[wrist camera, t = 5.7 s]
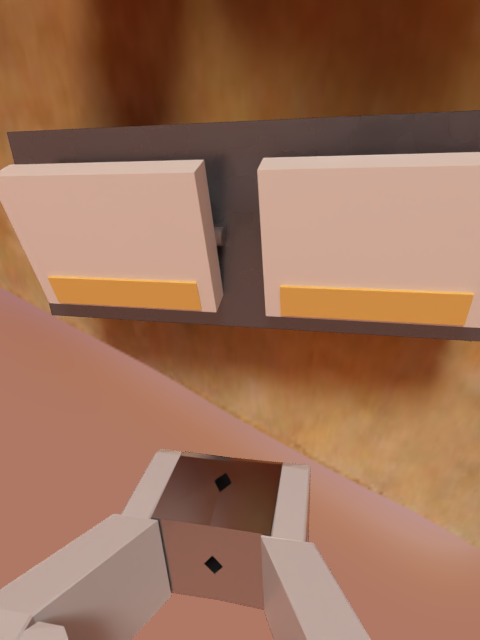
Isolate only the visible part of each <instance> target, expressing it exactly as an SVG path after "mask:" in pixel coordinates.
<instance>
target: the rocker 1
mask: <svg viewBox="0 0 480 640" xmlns="http://www.w3.org/2000/svg"><path fill="white" fill-rule="evenodd" d="M0 201H1V203H2V205H3V207H4V209H5V211H6V213H7V215H8V218H9V220H10V222H11V224H12V226H13V228H14V230H15V232H16V234H17V236H18V238H19V240H20V243H21V245H22V247H23V249H24V251H25V253H26V255H27V257H28V259H29V261H30V263H31V266H32V268H33V270H34V272H35V274H36V276H37V278H38V280H39V282H40V284H41V286H42V288H43V291H44V293H45V295H46V297H47V299H48V301H49V303H54V304H73V305H91V306H109V307H127V308H145V309H164V310H182V311H200V312H217V310H218V308H219V305H220V302H221V300H222V297H223V288H222V281H221V274H220V267H219V260H218V253H217V246H216V239H215V232H214V225H213V218H212V211H211V204H210V197H209V190H208V183H207V176H206V169H205V162H204V160H169V161H132V162H94V163H56V164H18V165H9V166H7V167H5V168H3V169H1V170H0Z"/></svg>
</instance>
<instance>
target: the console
mask: <svg viewBox="0 0 480 640" xmlns="http://www.w3.org/2000/svg"><path fill="white" fill-rule="evenodd" d="M7 135H8V139H9V143H10V147H11V151H12V155H13V159H14V163H15V165H18V164H56V163H94V162H132V161H169V160H204V162H205V169H206V176H207V183H208V190H209V197H210V204H211V211H212V218H213V225H214V232H215V239H216V246H217V253H218V260H219V267H220V274H221V281H222V288H223V297H222V300H221V302H220V305H219V308H218V310H217V312H200V311H182V310H164V309H145V308H127V307H109V306H91V305H73V304H54V303H49V305H50V309H51V313H52V315H59V316H76V317H92V318H108V319H124V320H141V321H157V322H173V323H189V324H205V325H222V326H238V327H254V328H270V329H286V330H303V331H319V332H335V333H351V334H368V335H384V336H400V337H416V338H432V339H449V340H465V341H480V328H473V327H455V326H437V325H419V324H401V323H383V322H365V321H347V320H329V319H311V318H293V317H275V316H266V311H265V294H264V277H263V260H262V243H261V226H260V209H259V192H258V176H257V169H258V167H259V165H260V163H261V161H262V159H263V158H274V157H311V156H349V155H386V154H424V153H461V152H480V110H475V111H454V112H432V113H410V114H389V115H367V116H345V117H324V118H302V119H280V120H258V121H237V122H215V123H193V124H172V125H150V126H128V127H107V128H85V129H63V130H41V131H20V132H7Z"/></svg>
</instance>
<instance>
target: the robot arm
mask: <svg viewBox="0 0 480 640" xmlns="http://www.w3.org/2000/svg"><path fill="white" fill-rule="evenodd" d="M309 505H310V466H309V465H306V464H296V463H295V464H294V463H285V462H284V463H282V462H272V461H262V460H252V459H241V458H230V457H223V456H215V455H208V454H201V453H193V452H186V451H185V452H180V451H174V450H167V449H160V450H159V451H158V452H157V453H155V455H154V456H153V458H152V460H151V462H150V464H149V465H148V467H147V469H146V471H145V472H144V474H143V476H142V478H141V480H140V482H139V483H138V485H137V487H136V489H135V490H134V492H133V494H132V496H131V497H130V499H129V501H128V503H127V505H126V506H125V508H124V510H123V512H122V514H112V515H111V516H109V517H108V518H106V519H105V520H103V521H102V522H100V523H99V524H97V525H96V526H94V527H93V528H91V529H90V530H88V531H87V532H85V533H84V534H82V535H81V536H79V537H78V538H76V539H75V540H73V541H72V542H71V543H69V544H67V545H66V546H64V547H63V548H61V549H60V550H58V551H57V552H55V553H54V554H53V555H51V556H49V557H48V558H46V559H45V560H43V561H42V562H41V563H39V564H37V565H36V566H34V567H33V568H31V569H30V570H28V571H27V572H26V573H24V574H23V575H21V576H20V577H18V578H17V579H15V580H14V581H12V582H11V583H9V584H8V585H6V586H5V587H3V588H2V589H0V640H131V639H132V638H133V637H134V636H135V635H136V634H137V633H138V632H139V631H140V629H141V628H142V627H143V626H144V625H145V624H146V623H147V622H148V621H149V620H150V619H151V618H152V617H153V615H154V614H155V613H156V612H157V611H158V610H159V609H160V608H161V607H162V606H163V605H164V603H166V601H167V600H168V599H169V598H170V597H171V593H177V594H183V595H190V596H196V597H203V598H209V599H216V600H221V601H226V602H230V603H235V604H240V605H244V606H249V607H254V608H258V609H263V610H264V612H265V616H266V618H267V622H268V624H269V627H270V630H271V633H272V636H273V639H274V640H371V639H370V637H369V635H368V633H367V632H366V630H365V628H364V627H363V625H362V623H361V622H360V620H359V618H358V617H357V615H356V613H355V612H354V610H353V608H352V606H351V605H350V603H349V601H348V600H347V598H346V596H345V594H344V593H343V591H342V589H341V588H340V586H339V584H338V583H337V581H336V579H335V578H334V576H333V574H332V572H331V571H330V569H329V568H328V566H327V564H326V562H325V561H324V559H323V557H322V556H321V554H320V553H319V551H318V549H317V547H316V545H315V544H314V543H310V542H309V541H308V540H309Z"/></svg>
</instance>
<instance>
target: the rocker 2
mask: <svg viewBox="0 0 480 640" xmlns="http://www.w3.org/2000/svg"><path fill="white" fill-rule="evenodd" d="M257 176H258V192H259V209H260V226H261V243H262V260H263V277H264V294H265V311H266V316H275V317H293V318H311V319H329V320H347V321H365V322H383V323H401V324H419V325H437V326H455V327H473V328H480V152H461V153H424V154H386V155H349V156H311V157H274V158H263V159H262V161H261V163H260V165H259V167H258V169H257Z"/></svg>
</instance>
